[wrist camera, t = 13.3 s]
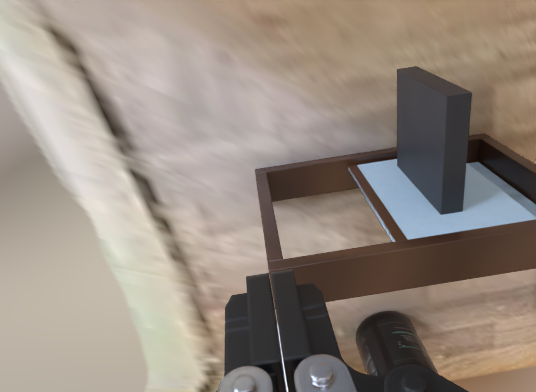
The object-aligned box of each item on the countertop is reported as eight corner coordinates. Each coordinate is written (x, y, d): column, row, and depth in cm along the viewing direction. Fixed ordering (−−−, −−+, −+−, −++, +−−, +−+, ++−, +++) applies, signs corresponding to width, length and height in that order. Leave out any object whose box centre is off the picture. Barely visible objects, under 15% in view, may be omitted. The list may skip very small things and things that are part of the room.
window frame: (259, 199, 43) (275, 310, 28) (254, 169, 41) (268, 270, 27) (482, 164, 43) (608, 257, 29) (484, 133, 42) (619, 214, 27)
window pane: (348, 171, 41) (397, 251, 29) (342, 72, 37) (397, 118, 25) (450, 155, 41) (541, 228, 29) (456, 55, 37) (564, 92, 25)
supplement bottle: (382, 361, 54) (421, 456, 43) (342, 337, 52) (372, 431, 41) (423, 325, 52) (474, 416, 41) (383, 299, 50) (425, 388, 39)
